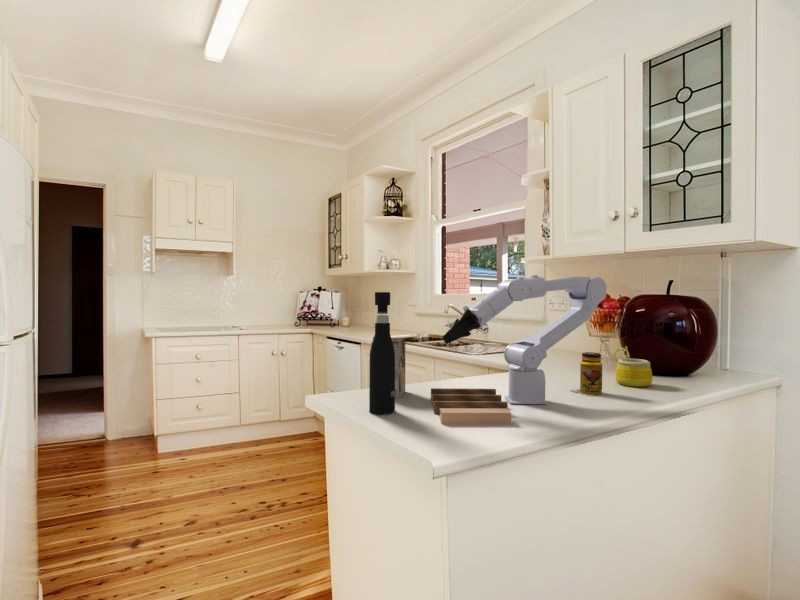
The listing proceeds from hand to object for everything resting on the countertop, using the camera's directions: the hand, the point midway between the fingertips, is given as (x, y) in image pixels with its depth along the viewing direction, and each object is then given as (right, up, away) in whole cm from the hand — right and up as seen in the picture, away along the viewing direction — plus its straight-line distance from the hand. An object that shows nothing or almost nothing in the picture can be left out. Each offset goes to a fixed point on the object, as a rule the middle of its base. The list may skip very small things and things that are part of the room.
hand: (447, 337), depth 125 cm
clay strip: (+5, -19, -12) cm, 23 cm away
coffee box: (-15, -18, +17) cm, 29 cm away
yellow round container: (+63, -18, +33) cm, 74 cm away
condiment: (+44, -18, +20) cm, 52 cm away
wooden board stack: (+5, -18, +2) cm, 19 cm away
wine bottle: (-17, -18, -3) cm, 25 cm away
